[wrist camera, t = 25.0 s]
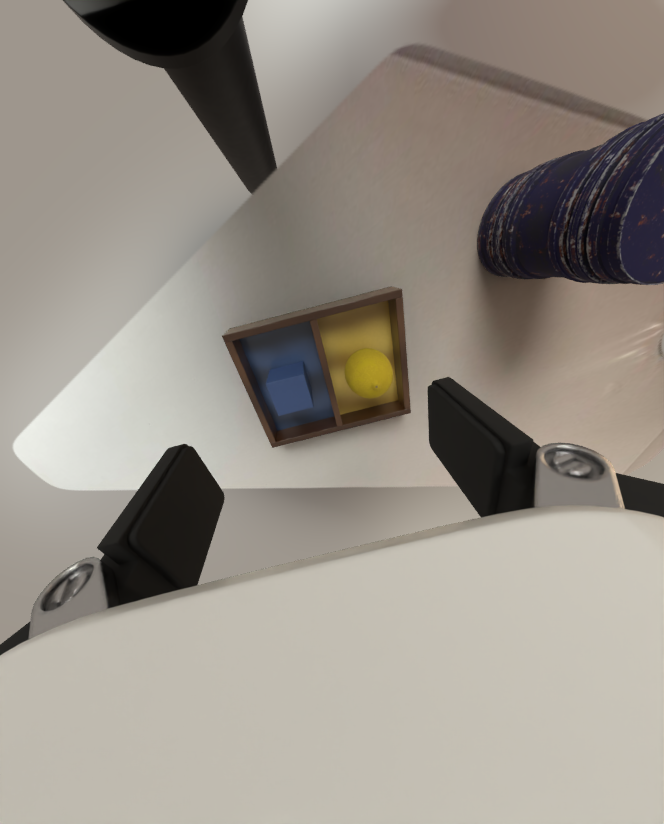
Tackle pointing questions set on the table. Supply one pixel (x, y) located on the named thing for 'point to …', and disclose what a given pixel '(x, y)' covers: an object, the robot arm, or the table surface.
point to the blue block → (290, 388)
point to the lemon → (368, 373)
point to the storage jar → (584, 215)
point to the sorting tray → (324, 362)
